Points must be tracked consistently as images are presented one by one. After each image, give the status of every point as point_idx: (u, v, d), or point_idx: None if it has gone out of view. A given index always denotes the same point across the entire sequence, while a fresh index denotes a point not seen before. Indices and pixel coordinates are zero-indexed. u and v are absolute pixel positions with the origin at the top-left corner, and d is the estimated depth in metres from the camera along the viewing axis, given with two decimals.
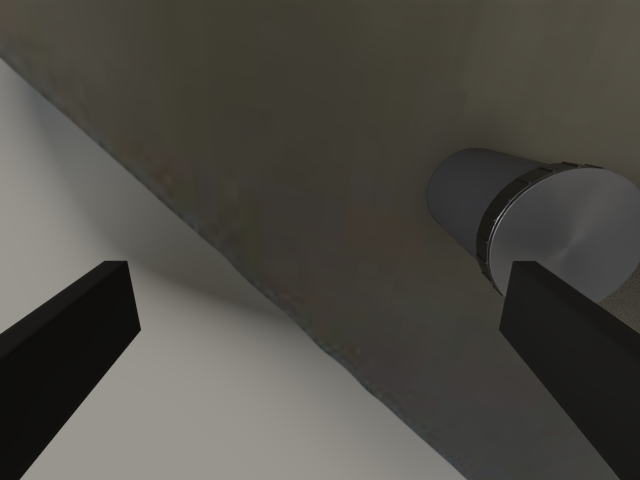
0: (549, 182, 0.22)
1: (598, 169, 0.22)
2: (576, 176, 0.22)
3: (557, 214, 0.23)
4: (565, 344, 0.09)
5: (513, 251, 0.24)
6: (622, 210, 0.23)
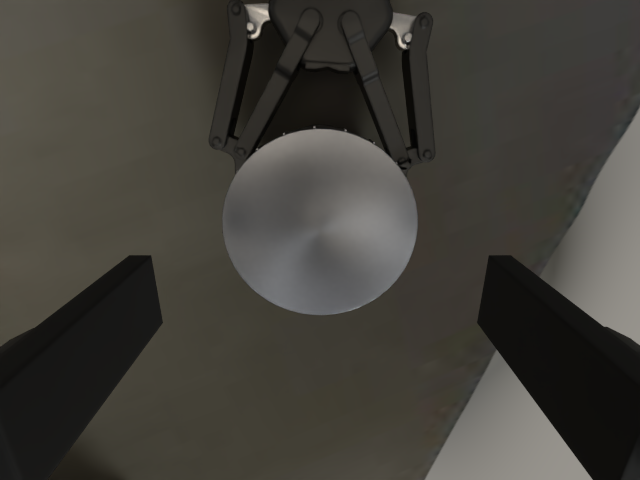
0: (274, 298, 0.21)
1: (234, 264, 0.20)
2: (253, 279, 0.20)
3: (296, 268, 0.20)
4: (533, 333, 0.10)
5: (357, 280, 0.20)
6: (251, 209, 0.19)
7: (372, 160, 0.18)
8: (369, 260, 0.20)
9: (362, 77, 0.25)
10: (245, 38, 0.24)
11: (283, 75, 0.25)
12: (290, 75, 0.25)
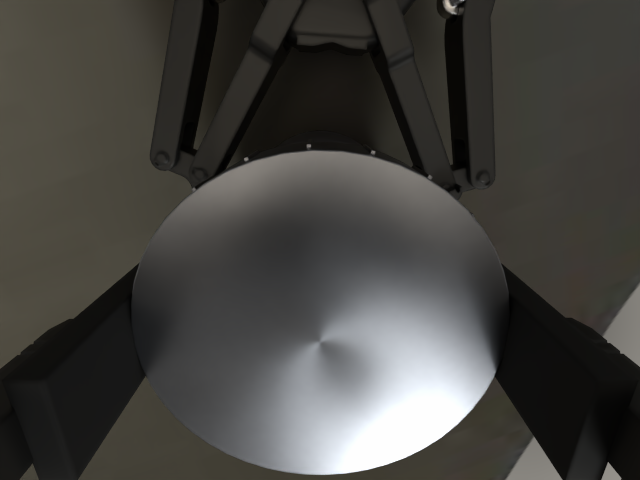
0: (238, 449, 0.11)
1: (161, 397, 0.11)
2: (198, 421, 0.11)
3: (276, 404, 0.11)
4: None
5: (388, 423, 0.11)
6: (185, 304, 0.10)
7: (427, 213, 0.09)
8: (412, 391, 0.11)
9: (388, 58, 0.15)
10: None
11: (262, 55, 0.16)
12: (273, 55, 0.15)
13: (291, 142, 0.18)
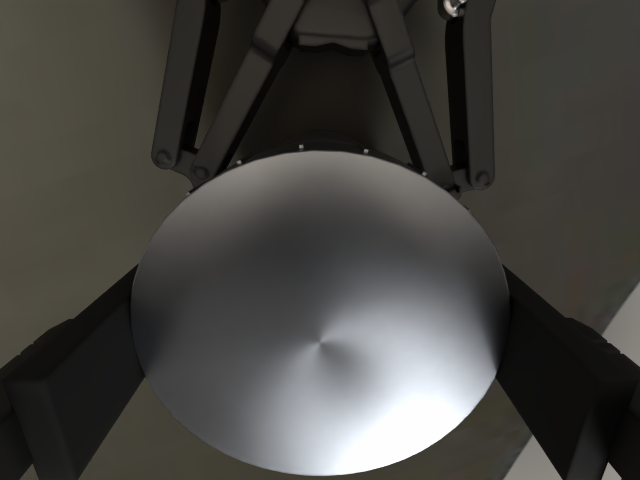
0: (478, 385, 0.10)
1: (419, 449, 0.11)
2: (443, 421, 0.11)
3: (407, 362, 0.10)
4: None
5: (413, 248, 0.09)
6: (312, 444, 0.11)
7: (159, 291, 0.09)
8: (360, 237, 0.09)
9: (388, 59, 0.15)
10: None
11: (263, 55, 0.16)
12: (274, 55, 0.16)
13: (292, 142, 0.18)
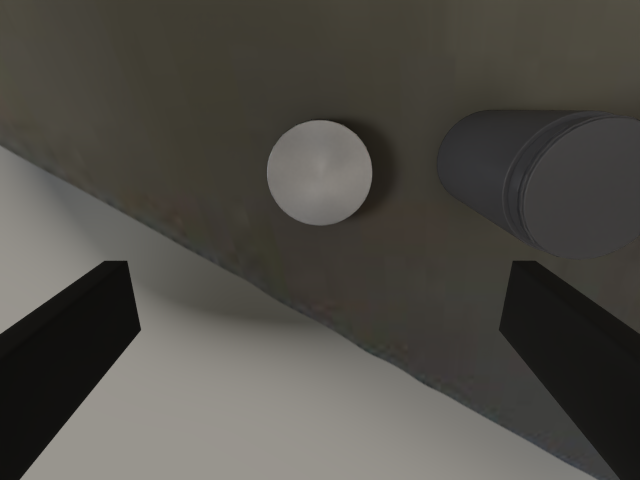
0: (272, 185, 0.36)
1: (270, 155, 0.35)
2: (272, 169, 0.35)
3: (294, 181, 0.36)
4: (565, 344, 0.09)
5: (313, 210, 0.37)
6: (302, 139, 0.34)
7: (365, 168, 0.35)
8: (326, 206, 0.37)
9: None
10: None
11: None
12: None
13: None
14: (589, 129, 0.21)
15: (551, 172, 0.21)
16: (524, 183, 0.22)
